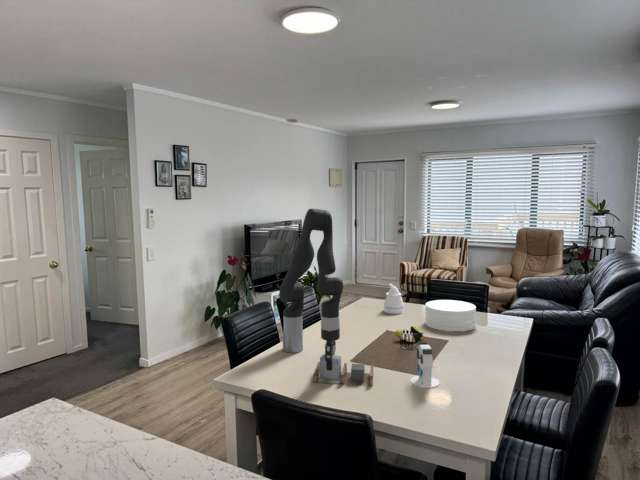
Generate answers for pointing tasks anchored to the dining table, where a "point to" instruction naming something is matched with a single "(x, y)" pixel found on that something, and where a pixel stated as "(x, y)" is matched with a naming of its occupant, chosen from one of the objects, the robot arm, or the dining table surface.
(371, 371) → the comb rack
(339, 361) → the medicine box
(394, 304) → the honey pot
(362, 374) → the cord plug
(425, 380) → the panda figurine
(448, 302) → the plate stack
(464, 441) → the dining table surface
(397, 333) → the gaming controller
